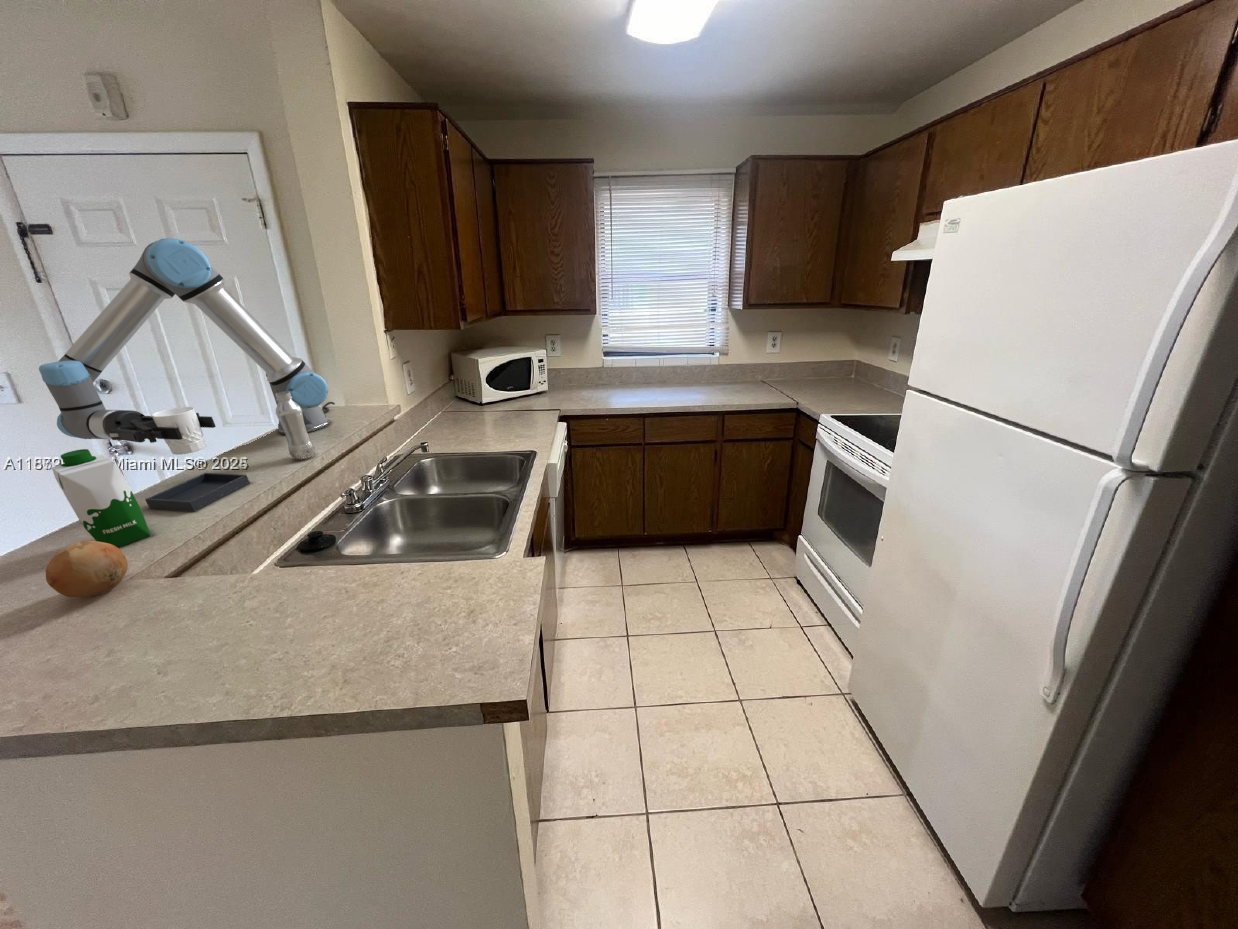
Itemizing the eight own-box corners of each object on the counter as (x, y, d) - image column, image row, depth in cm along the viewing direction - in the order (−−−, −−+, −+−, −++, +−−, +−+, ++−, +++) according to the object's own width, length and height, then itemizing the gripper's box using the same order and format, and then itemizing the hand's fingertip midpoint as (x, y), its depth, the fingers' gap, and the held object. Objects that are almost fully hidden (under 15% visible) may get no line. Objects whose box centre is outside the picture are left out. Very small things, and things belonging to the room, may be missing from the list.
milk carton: (143, 524, 108) (101, 443, 100) (158, 535, 103) (114, 451, 95) (90, 543, 101) (39, 458, 93) (103, 555, 97) (51, 467, 88)
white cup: (191, 455, 114) (174, 416, 110) (160, 456, 114) (141, 417, 110) (217, 443, 121) (202, 406, 117) (188, 444, 122) (171, 407, 117)
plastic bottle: (294, 464, 137) (270, 397, 129) (290, 457, 142) (267, 393, 134) (319, 457, 141) (298, 392, 133) (314, 451, 146) (293, 388, 138)
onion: (98, 576, 90) (71, 531, 86) (152, 572, 91) (127, 528, 86) (45, 611, 81) (12, 563, 77) (104, 607, 82) (75, 559, 78)
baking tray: (209, 481, 128) (205, 472, 127) (250, 483, 126) (246, 474, 125) (149, 508, 115) (144, 499, 114) (194, 511, 113) (190, 502, 112)
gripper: (169, 425, 129) (239, 428, 125) (79, 454, 111) (158, 458, 107) (157, 399, 126) (229, 400, 122) (63, 424, 108) (143, 427, 104)
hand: (196, 427), depth 114 cm, fingers closed on white cup, 8 cm apart
